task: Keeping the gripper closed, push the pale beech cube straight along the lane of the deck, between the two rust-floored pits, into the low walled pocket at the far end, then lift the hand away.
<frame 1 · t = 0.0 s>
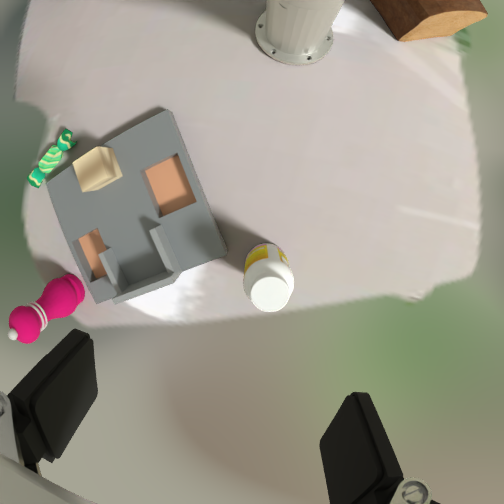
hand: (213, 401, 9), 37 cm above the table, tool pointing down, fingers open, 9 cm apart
block: (105, 169, 41), point 2 cm above the table, touching deck
candy: (56, 159, 43), on the table
pepper mill: (73, 288, 49), on the table
supplement bottle: (266, 262, 47), on the table
deck: (129, 212, 45), on the table
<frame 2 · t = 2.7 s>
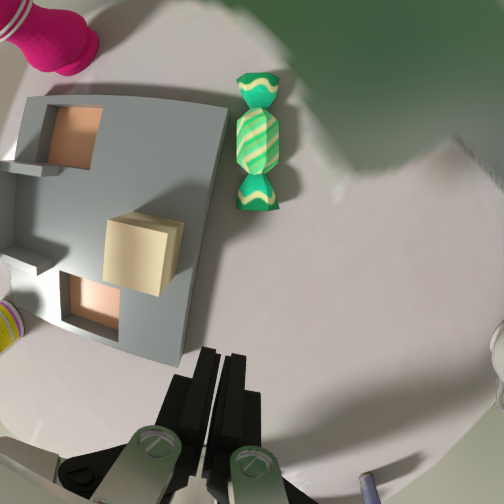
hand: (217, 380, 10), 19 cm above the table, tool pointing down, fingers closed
flask: (365, 480, 40), on the table
block: (153, 243, 25), point 2 cm above the table, touching deck
candy: (257, 143, 26), on the table
pepper mill: (78, 53, 23), on the table
supplement bottle: (12, 318, 32), on the table
teacup: (496, 343, 31), on the table
deck: (94, 221, 28), on the table
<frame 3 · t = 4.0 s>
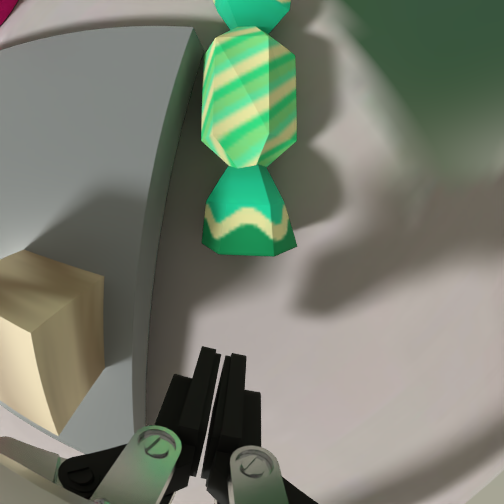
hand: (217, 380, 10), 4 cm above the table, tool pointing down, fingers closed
block: (60, 310, 11), point 2 cm above the table, touching deck
candy: (250, 105, 12), on the table
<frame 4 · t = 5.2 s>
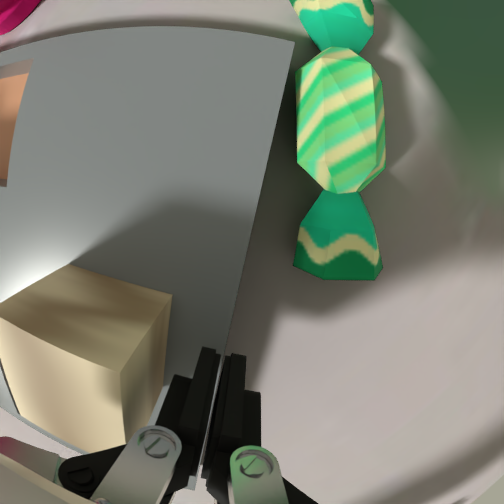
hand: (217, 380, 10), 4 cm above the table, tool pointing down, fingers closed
block: (114, 330, 11), point 3 cm above the table, touching deck, gripper
candy: (331, 125, 12), on the table
pepper mill: (23, 0, 9), on the table
deck: (34, 276, 14), on the table
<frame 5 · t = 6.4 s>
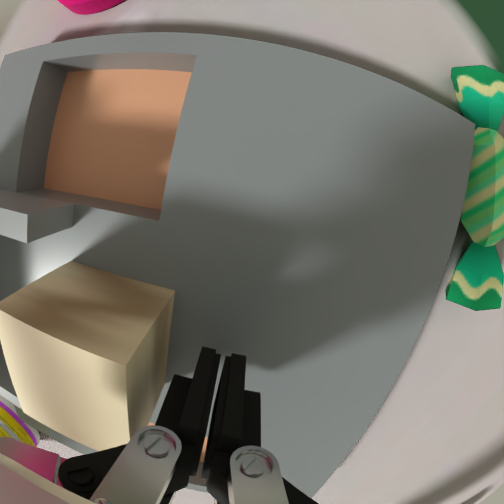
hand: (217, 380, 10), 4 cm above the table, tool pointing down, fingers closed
block: (116, 326, 12), point 3 cm above the table, touching gripper
candy: (466, 184, 13), on the table
supplement bottle: (18, 416, 18), on the table
deck: (162, 319, 14), on the table
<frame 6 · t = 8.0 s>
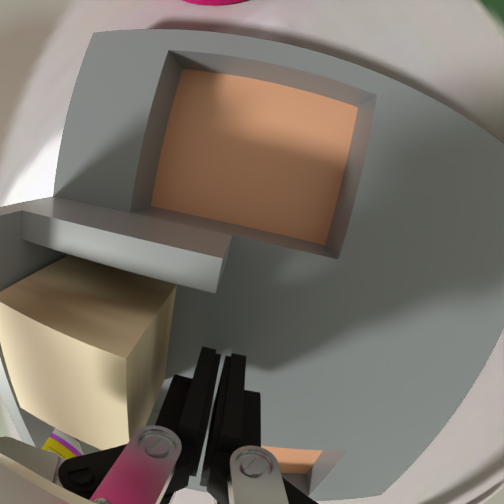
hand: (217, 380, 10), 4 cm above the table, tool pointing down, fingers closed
block: (116, 321, 11), point 2 cm above the table, touching deck, gripper
supplement bottle: (67, 443, 19), on the table
deck: (291, 346, 14), on the table
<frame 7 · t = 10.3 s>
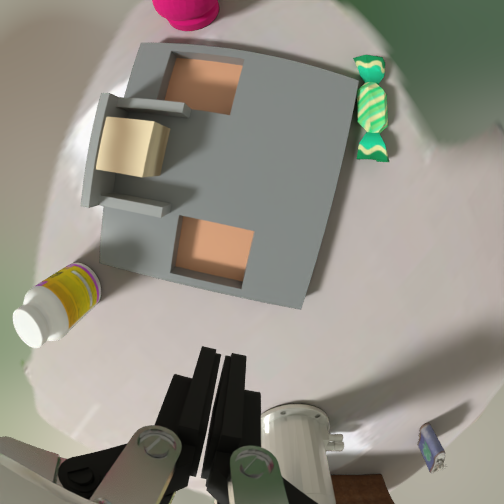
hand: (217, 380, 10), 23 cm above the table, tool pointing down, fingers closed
flask: (423, 433, 43), on the table
block: (143, 148, 27), point 2 cm above the table, touching deck
candy: (366, 110, 29), on the table
pepper mill: (193, 12, 25), on the table
supplement bottle: (83, 284, 35), on the table
deck: (220, 168, 30), on the table
bread: (313, 488, 48), on the table
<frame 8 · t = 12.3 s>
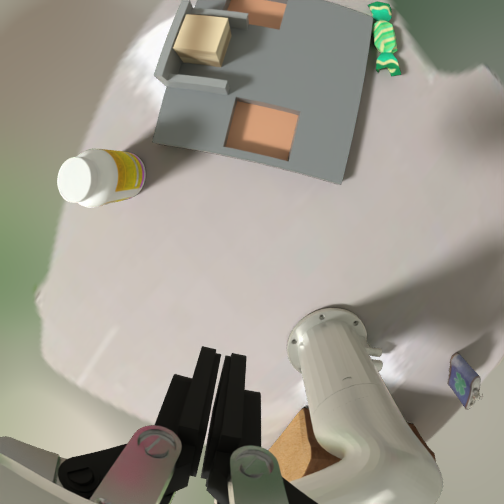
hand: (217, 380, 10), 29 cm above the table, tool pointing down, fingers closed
flask: (453, 368, 45), on the table
block: (207, 48, 30), point 2 cm above the table, touching deck
candy: (380, 41, 31), on the table
supplement bottle: (126, 175, 37), on the table
deck: (269, 69, 33), on the table
bread: (344, 439, 50), on the table
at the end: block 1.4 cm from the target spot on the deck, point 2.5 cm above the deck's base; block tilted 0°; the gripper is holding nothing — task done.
